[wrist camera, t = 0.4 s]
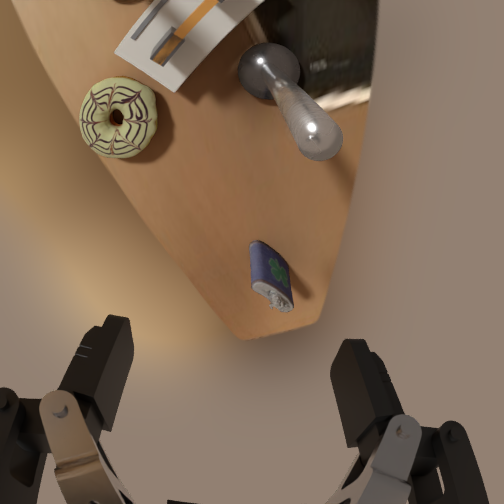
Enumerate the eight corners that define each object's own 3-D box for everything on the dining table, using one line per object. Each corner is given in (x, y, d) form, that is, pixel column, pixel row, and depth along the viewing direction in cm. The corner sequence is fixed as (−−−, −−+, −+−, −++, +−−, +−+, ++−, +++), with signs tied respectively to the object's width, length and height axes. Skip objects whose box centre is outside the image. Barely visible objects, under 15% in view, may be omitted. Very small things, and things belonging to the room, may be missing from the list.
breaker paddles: (152, 48, 24) (149, 59, 21) (224, -27, 19) (233, -30, 16) (164, 55, 25) (163, 67, 22) (235, -19, 20) (246, -20, 17)
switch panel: (123, 50, 26) (113, 52, 24) (218, -53, 18) (216, -60, 16) (179, 88, 31) (173, 93, 28) (277, -11, 23) (281, -15, 20)
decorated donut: (165, 75, 30) (158, 79, 27) (159, 152, 37) (152, 164, 34) (88, 75, 28) (75, 81, 25) (89, 148, 35) (78, 160, 32)
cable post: (225, 71, 30) (201, 144, 12) (266, 31, 26) (324, 26, 8) (269, 107, 33) (312, 231, 15) (309, 70, 30) (418, 146, 12)
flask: (245, 244, 48) (248, 297, 40) (260, 235, 47) (265, 287, 39) (279, 274, 53) (286, 324, 45) (293, 266, 52) (302, 316, 44)
